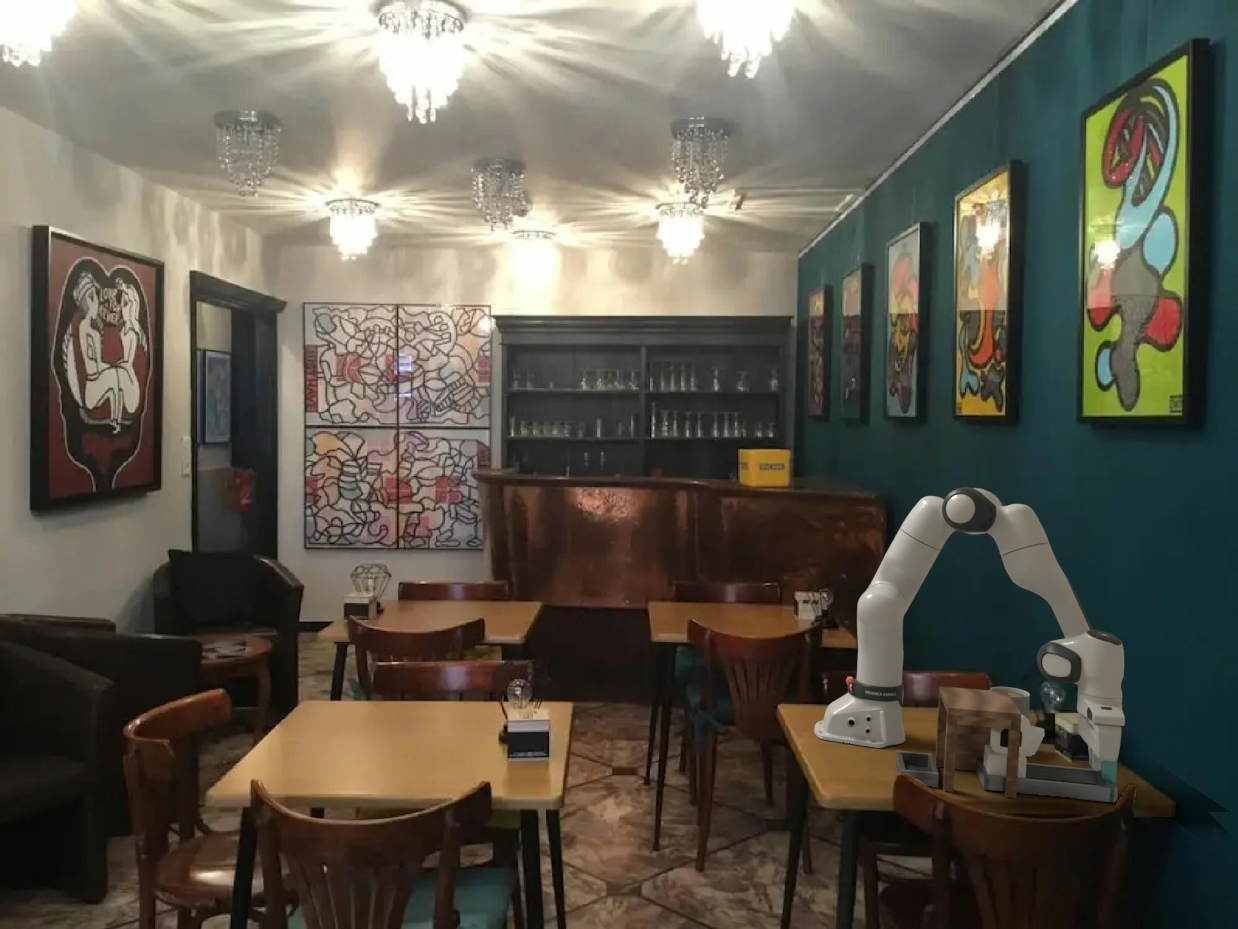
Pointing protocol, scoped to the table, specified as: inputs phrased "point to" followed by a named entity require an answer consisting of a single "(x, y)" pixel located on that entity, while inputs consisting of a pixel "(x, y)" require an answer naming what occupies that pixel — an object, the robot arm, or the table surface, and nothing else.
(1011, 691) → the coffee mug
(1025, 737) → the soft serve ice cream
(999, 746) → the container
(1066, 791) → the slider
